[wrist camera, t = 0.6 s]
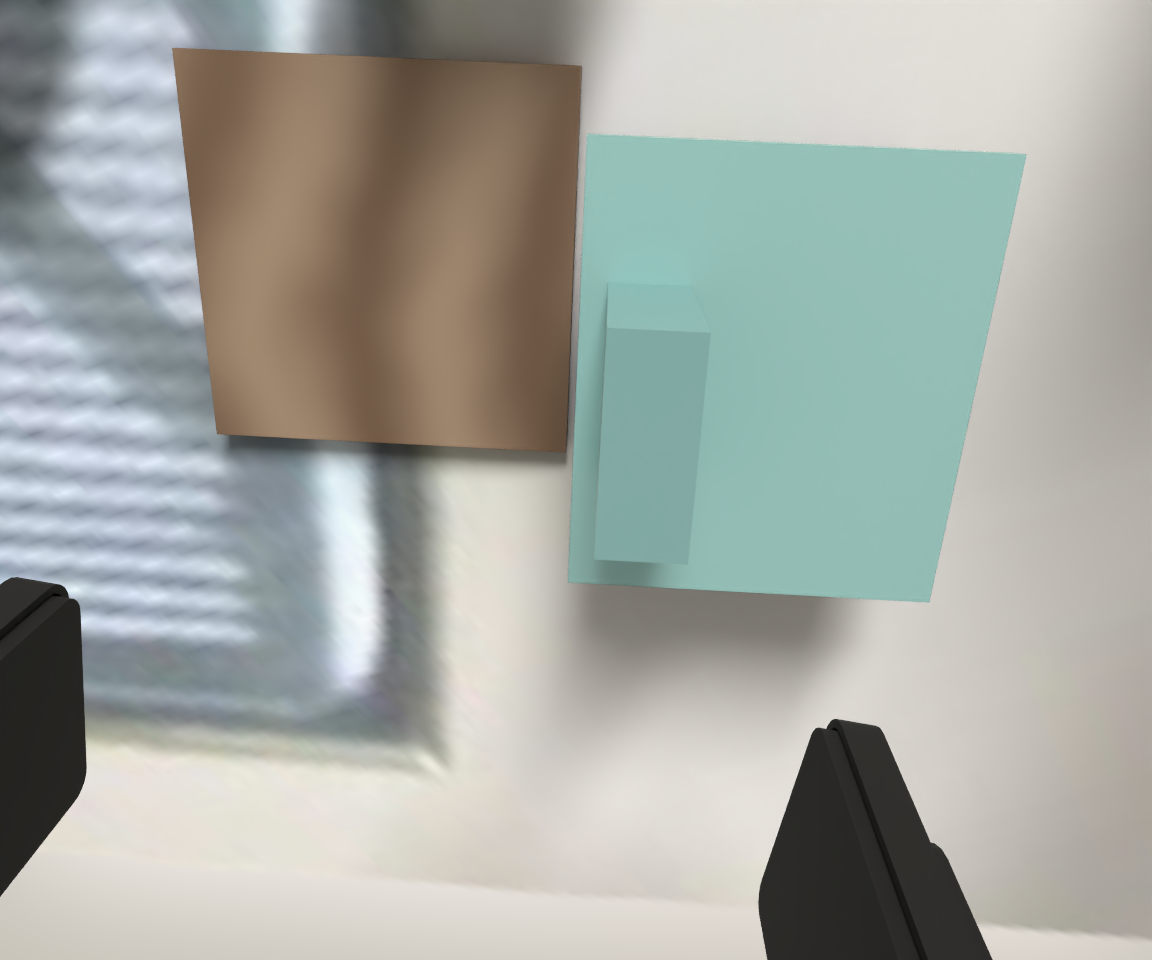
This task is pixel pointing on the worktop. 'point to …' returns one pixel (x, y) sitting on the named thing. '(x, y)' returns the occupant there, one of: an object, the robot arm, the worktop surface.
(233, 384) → the board
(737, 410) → the lid
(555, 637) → the worktop surface
